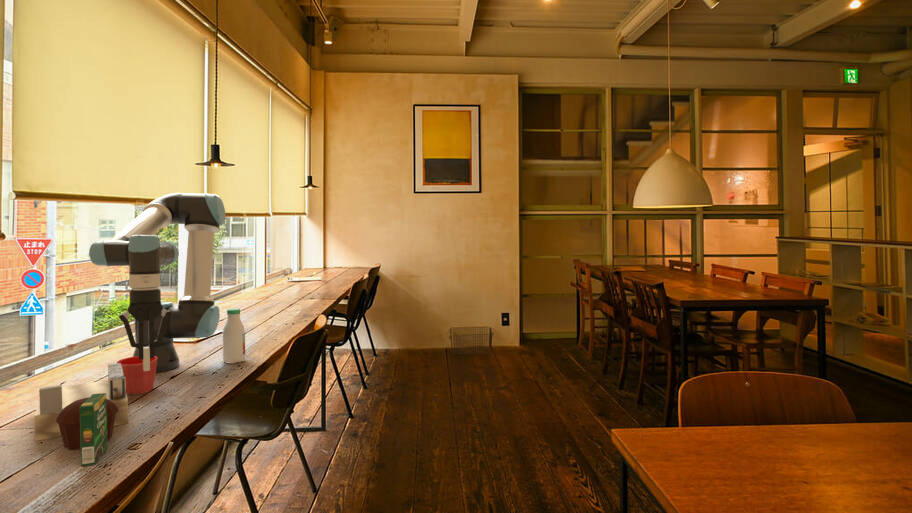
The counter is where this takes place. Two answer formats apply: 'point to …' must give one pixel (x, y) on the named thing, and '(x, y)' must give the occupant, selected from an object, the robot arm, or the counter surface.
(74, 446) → the muffin
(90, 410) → the coffee box
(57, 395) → the block
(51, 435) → the stool seat
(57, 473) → the counter surface
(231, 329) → the milk bottle
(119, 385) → the folding leg
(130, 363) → the flower pot
